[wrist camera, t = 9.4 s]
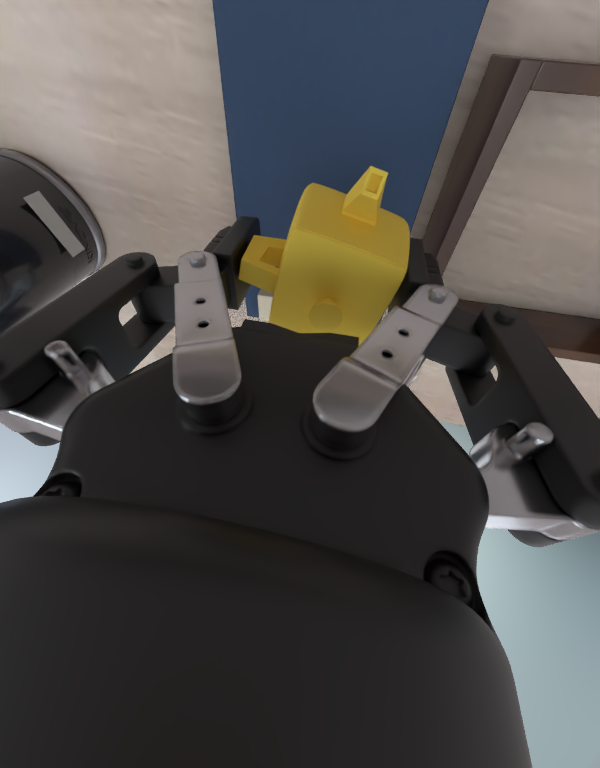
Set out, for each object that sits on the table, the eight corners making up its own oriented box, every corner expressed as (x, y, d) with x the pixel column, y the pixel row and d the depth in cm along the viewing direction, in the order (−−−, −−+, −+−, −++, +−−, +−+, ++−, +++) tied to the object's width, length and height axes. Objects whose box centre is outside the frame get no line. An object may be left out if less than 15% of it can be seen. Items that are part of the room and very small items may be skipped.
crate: (399, 299, 24) (402, 334, 21) (491, 54, 14) (522, 57, 11) (608, 329, 23) (640, 370, 20) (884, 86, 12) (1033, 100, 10)
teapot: (287, 98, 10) (241, 128, 6) (440, 163, 10) (468, 220, 7) (253, 292, 16) (221, 357, 13) (350, 326, 16) (343, 396, 13)
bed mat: (250, 308, 28) (243, 324, 26) (212, -89, 12) (188, -107, 11) (375, 327, 27) (375, 344, 25) (507, -73, 11) (527, -91, 10)
